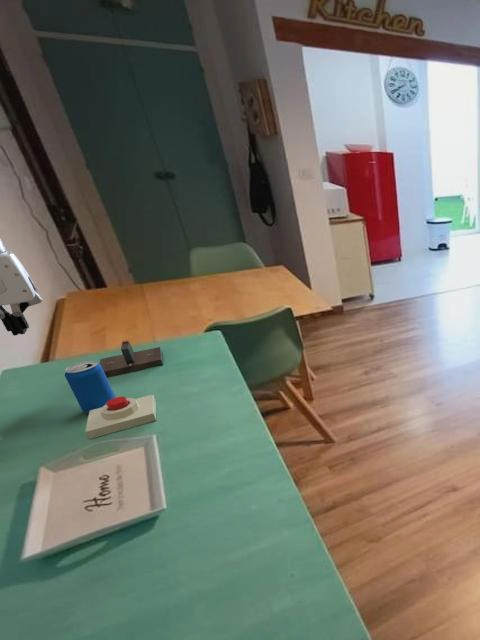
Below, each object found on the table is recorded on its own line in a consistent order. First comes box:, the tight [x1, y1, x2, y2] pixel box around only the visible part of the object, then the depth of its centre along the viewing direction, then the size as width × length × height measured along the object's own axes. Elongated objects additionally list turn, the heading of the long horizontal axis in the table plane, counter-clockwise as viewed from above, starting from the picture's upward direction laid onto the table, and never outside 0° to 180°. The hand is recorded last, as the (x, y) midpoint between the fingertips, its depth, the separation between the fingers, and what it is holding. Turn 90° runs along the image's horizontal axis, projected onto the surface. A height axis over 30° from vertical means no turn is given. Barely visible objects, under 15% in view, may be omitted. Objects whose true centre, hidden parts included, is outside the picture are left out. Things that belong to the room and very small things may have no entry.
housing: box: [84, 394, 157, 440], centre depth 100 cm, size 12×10×4 cm
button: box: [106, 396, 129, 411], centre depth 99 cm, size 4×4×2 cm
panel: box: [98, 346, 164, 378], centre depth 124 cm, size 14×10×2 cm
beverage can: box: [64, 360, 117, 414], centre depth 102 cm, size 6×6×12 cm
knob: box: [120, 340, 135, 364], centre depth 122 cm, size 6×2×5 cm, turn 37°
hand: (20, 332), depth 91 cm, fingers closed
